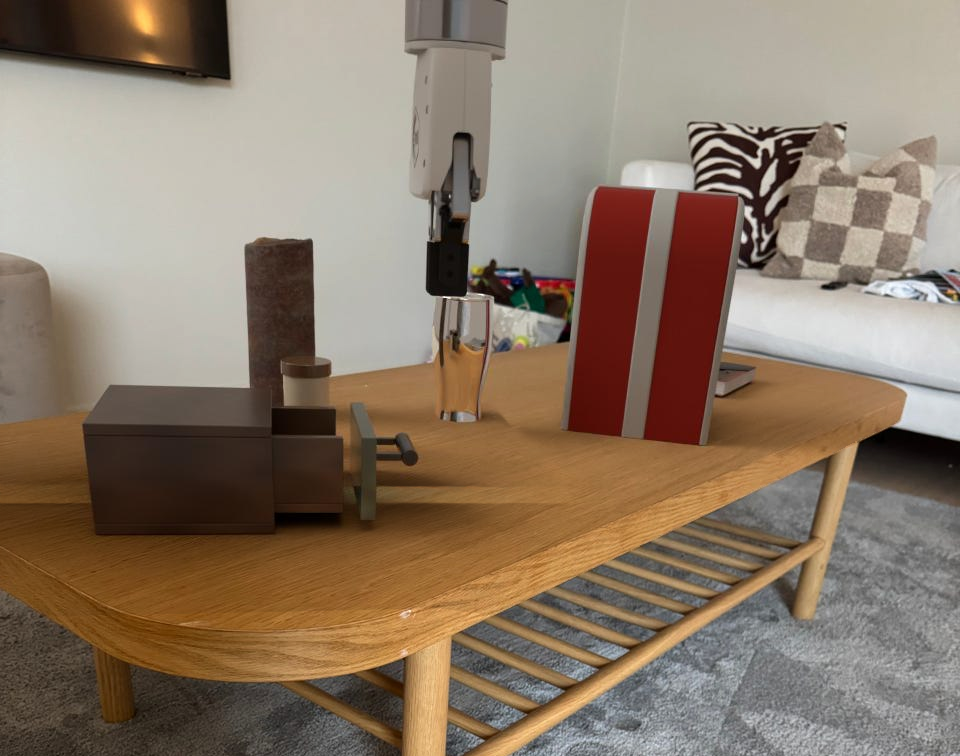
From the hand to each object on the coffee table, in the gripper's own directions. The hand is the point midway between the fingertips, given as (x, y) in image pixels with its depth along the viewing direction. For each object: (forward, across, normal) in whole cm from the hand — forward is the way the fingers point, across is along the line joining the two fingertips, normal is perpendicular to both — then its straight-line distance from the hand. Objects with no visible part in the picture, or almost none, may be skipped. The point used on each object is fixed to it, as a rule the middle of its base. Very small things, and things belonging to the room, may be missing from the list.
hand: (446, 294), depth 79 cm
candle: (+18, -28, -13) cm, 36 cm away
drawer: (+17, 0, -11) cm, 20 cm away
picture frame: (+19, -62, +47) cm, 80 cm away
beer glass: (+18, -28, +7) cm, 34 cm away
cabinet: (+18, 0, -21) cm, 28 cm away
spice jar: (+18, -13, -11) cm, 25 cm away
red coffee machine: (+19, -33, +31) cm, 49 cm away
